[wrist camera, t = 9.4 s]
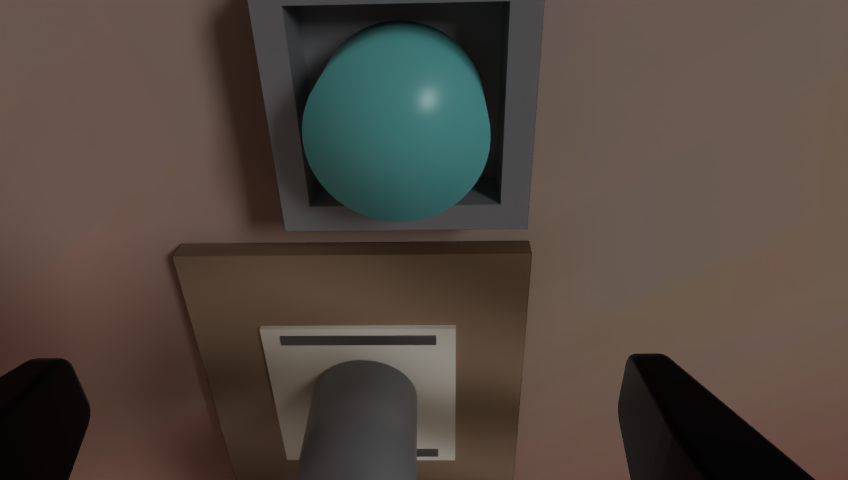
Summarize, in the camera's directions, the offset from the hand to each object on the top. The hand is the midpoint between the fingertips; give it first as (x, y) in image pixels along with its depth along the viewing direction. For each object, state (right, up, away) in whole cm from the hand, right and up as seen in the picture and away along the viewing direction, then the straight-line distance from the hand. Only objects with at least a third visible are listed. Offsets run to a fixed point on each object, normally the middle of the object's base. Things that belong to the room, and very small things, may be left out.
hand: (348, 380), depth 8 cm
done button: (0, +5, +9) cm, 10 cm away
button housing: (0, +6, +10) cm, 12 cm away
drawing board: (-1, -4, +17) cm, 17 cm away
